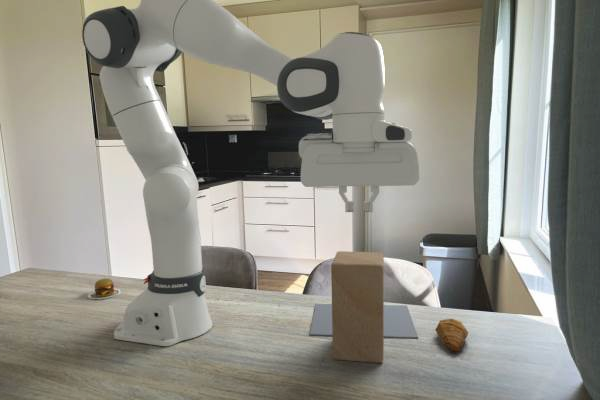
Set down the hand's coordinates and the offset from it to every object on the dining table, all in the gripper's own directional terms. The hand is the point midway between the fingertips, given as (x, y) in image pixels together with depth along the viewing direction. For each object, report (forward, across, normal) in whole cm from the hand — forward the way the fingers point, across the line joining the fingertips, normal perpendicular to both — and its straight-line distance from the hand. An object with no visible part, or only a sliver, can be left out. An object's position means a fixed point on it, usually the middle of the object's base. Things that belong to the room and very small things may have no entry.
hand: (358, 211), depth 73 cm
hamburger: (+32, -75, +39) cm, 90 cm away
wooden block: (+31, 0, +10) cm, 33 cm away
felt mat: (+31, +1, +25) cm, 40 cm away
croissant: (+32, +20, +16) cm, 41 cm away
